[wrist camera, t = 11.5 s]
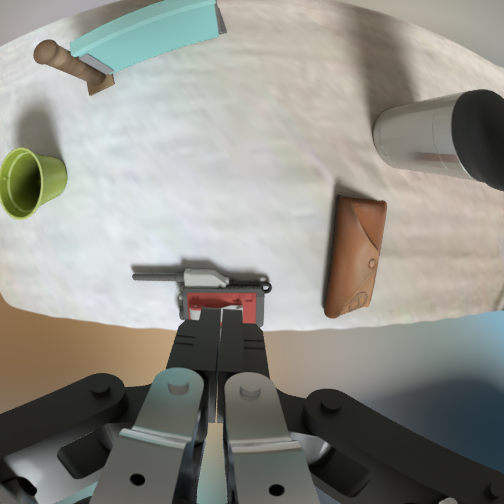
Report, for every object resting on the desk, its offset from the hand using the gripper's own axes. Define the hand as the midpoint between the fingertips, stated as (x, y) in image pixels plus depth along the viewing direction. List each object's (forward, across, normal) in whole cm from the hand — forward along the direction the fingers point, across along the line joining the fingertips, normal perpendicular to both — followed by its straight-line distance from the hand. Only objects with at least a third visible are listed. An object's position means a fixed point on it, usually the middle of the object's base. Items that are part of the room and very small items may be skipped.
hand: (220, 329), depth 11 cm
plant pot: (+29, +28, -4) cm, 41 cm away
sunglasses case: (+30, -18, +6) cm, 35 cm away
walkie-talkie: (+30, +4, +13) cm, 33 cm away
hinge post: (+29, +20, -18) cm, 40 cm away
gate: (+28, +11, -21) cm, 37 cm away
